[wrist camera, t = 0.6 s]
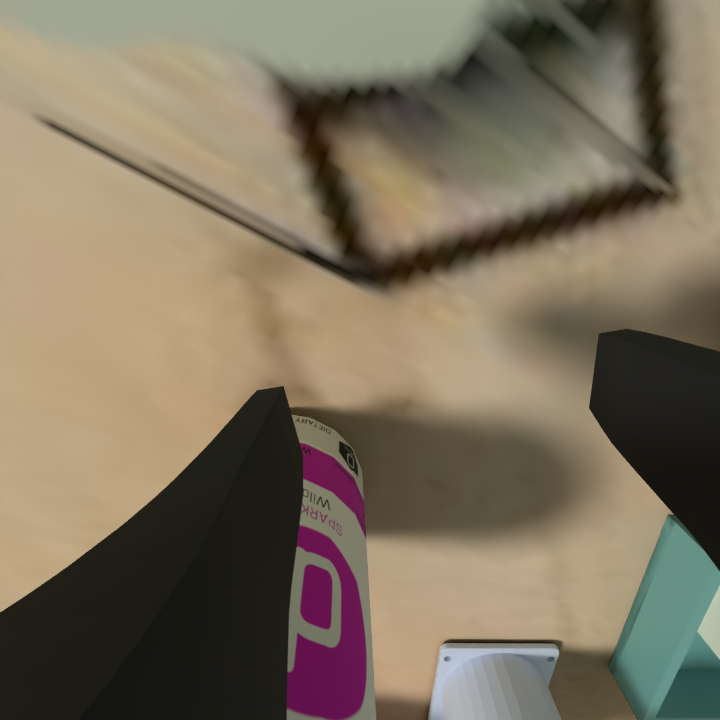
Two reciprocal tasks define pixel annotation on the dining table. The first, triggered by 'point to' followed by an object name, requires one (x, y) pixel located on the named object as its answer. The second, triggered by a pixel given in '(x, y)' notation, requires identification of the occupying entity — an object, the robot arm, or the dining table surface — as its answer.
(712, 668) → the bin
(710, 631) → the cube
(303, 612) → the supplement can
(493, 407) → the dining table surface
